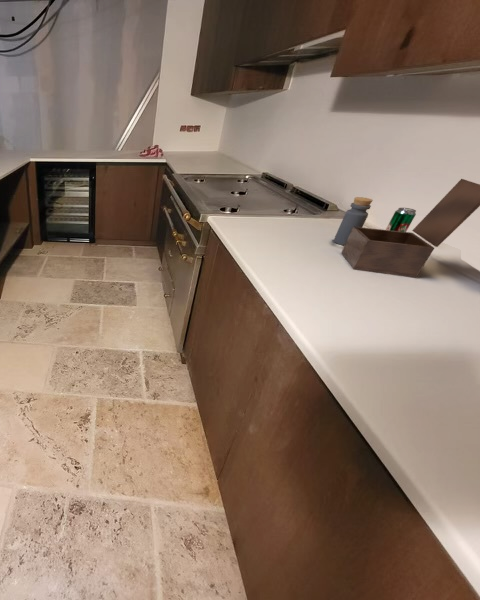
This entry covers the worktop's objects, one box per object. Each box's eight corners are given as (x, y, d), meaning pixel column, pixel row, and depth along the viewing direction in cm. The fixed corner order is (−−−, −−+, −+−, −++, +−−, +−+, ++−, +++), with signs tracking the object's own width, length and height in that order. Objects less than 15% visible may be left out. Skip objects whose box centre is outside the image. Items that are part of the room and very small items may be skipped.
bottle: (330, 242, 111) (350, 198, 103) (336, 238, 114) (355, 195, 106) (351, 247, 107) (372, 202, 99) (355, 243, 110) (377, 199, 102)
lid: (492, 188, 75) (496, 190, 75) (461, 178, 85) (464, 179, 85) (434, 245, 84) (437, 247, 84) (411, 230, 94) (414, 231, 94)
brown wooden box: (353, 269, 93) (367, 240, 89) (341, 253, 103) (353, 226, 99) (416, 277, 89) (434, 248, 84) (396, 259, 99) (412, 232, 94)
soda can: (380, 240, 113) (398, 206, 106) (398, 244, 110) (418, 209, 103) (377, 244, 110) (396, 209, 103) (397, 248, 107) (417, 212, 100)
